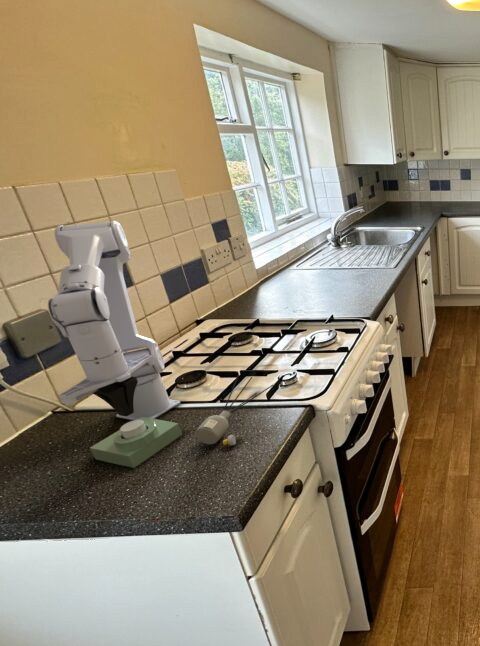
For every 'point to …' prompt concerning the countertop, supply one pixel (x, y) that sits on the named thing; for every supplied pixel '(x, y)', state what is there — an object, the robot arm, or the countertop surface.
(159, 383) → the robot arm
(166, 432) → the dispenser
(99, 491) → the countertop surface
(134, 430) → the white round button
